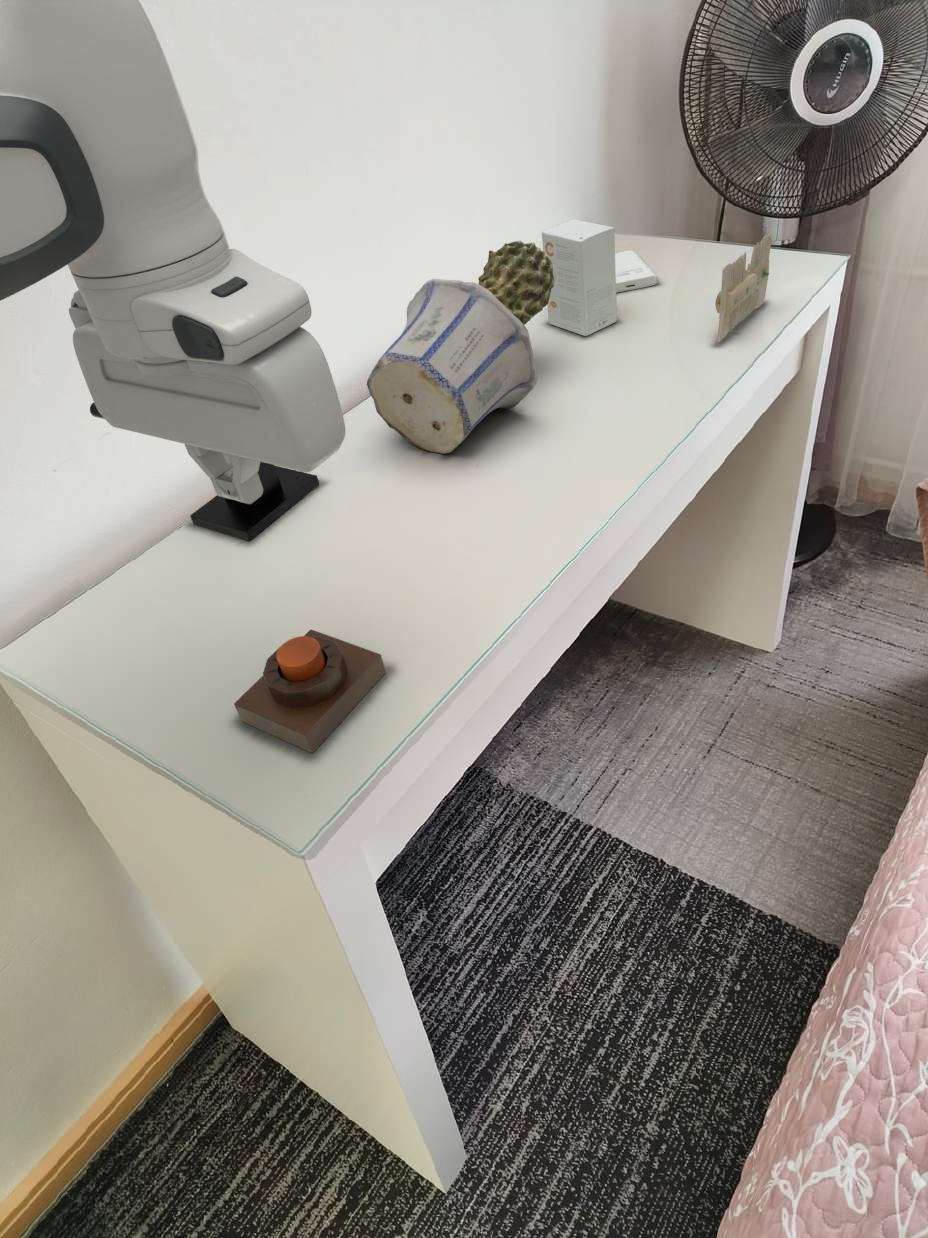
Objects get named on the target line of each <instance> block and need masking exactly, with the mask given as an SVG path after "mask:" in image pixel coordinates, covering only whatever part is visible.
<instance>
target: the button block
mask: <svg viewBox="0 0 928 1238" xmlns="http://www.w3.org/2000/svg"><path fill="white" fill-rule="evenodd" d="M303 636H308V637H312V638H314V639H316V640H317V641H318V642H319V644H320V647H321V650H322V653H323V656H324V659H325V665H324V667H323V669H322V671H321V672H320V673H319V674H318V675H316V676H315V677H312V678H310V679H308V680H306V681H300V682H295V681H290V680H288V679H286V678H285V677H284V675H283V673H282V671H281V668H280V666H279V663H278V661H277V657H276V655H277V651H278V649H279V648H280V647H281V646H282V645H281V646H279V647H278V648H276V650H275V651H274V652H272V654H271V655H270V656H269V657H268V658H267V659H266V662H265V665H264V669H263V672H262V676H261V677H260V678H259V679H258V680H257V681H256V682H255V683H254V684H253V685H251V686H250V688H249V689H247V690H246V691H245V692H244V693H243V694H242V695H241V696H240V697H239V698H238V699H237V700H236V701H235V702H234V703H233V705H234V707H235V710H236V712H237V714H238V715H239V718H240V720H241V722H242V723H244V724H247V725H249V726H251V727H254V728H255V729H257V730H260V731H262V732H264V733H266V734H269V735H271V736H273V737H276V738H278V739H279V740H282V741H284V742H285V743H286V742H287V743H289V744H291V745H293V746H295V747H298V748H299V749H302V750H304V751H307V752H308V753H311V754H314V753H315V752H316V751H317V750H318V749H319V747H320V746H321V745H322V744H323V743H324V742H325V741H326V740H327V738H328V737H329V736H330V735H331V734H332V733H333V732H334V731H335V730H336V729H337V728H338V726H339V725H340V724H341V723H342V722H343V721H344V720H345V719H346V718H347V716H348V715H349V714H351V712H352V711H353V710H354V709H355V708H356V706H357V705H359V703H360V702H361V701H362V700H363V699H364V698H365V697H366V696H367V694H368V693H369V692H370V691H371V690H372V689H373V688H374V686H375V685H376V684H377V683H379V681H380V680H381V679H382V678H383V677H384V675H385V674H386V673H387V671H386V667H385V664H384V661H383V657H382V654H380V653H378V652H376V651H372V650H370V649H368V648H364V647H361V646H359V645H356V644H354V643H350V642H347V641H344V640H342V639H339V638H336V637H333V636H332V635H331V636H330V635H328V634H325V633H322V632H320V631H316V630H315V629H309V630H308V631H307V632H306V633H305V634H304V635H303Z"/></svg>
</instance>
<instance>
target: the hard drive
mask: <svg viewBox="0 0 928 1238" xmlns="http://www.w3.org/2000/svg"><path fill="white" fill-rule="evenodd" d="M615 272H616V294H618V293H622V292H627V291H632V290H638V289H642V288H646V287H652V286H655V285H656V284H657V283H658V276H657V275H656V274H655V273H654V272H653V271H652V269H651V268H650V267H649V266H648V265H647V264H646V263H645V262H644V260H643V259H641V257H640V256H639V255H638V254H637V253H636V252H635V251H634V250H631V249H629V250H624V251H620V252H615Z"/></svg>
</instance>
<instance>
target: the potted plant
mask: <svg viewBox="0 0 928 1238" xmlns="http://www.w3.org/2000/svg"><path fill="white" fill-rule="evenodd" d="M482 270H483V273H482V274H481V275H479V276H478V278H477V280H478V283H477V282H474V281H463V280H457V279H443V278H442V279H441V278H430V279H428V280H426V282H425V283H424V284H423V285H422V286H421V287H420V289H419V290H417V292H416V293H415V294H414V296H413V298H412V299H411V300H410V301H409V302H408V304H407V307H406V324H405V326H404V329H403V330H402V333H401V334H400V335H399V337H397V339H396V340H395V341H394V342H393V343H392V344H391V345H390V346H389V348H387V350H385V352H384V353H383V355H382V356H381V357H380V358H379V359H378V361H377V363H376V364H375V365H374V367H373V369H372V370H371V372H370V374H369V376H368V378H367V380H366V386H367V389H368V392H369V396H370V397H371V398H372V399H373V403H374V407H375V410H376V413H377V414H378V415H379V417H380V418H382V420H383V421H384V422H385V423H386V425H387V426H388V428H390V429H392V430H394V431H395V432H396V433H397V434H399V435H400V436H401V437H402V438H404V439H405V440H407V441H409V442H410V443H411V444H412V445H414V446H416V447H418V448H419V449H421V450H422V451H425V452H432V453H437V454H444V455H445V454H451V452H453V451H454V450H455V449H456V448H457V447H459V445H461V444H462V443H463V441H464V440H465V439H466V438H467V437H468V436H469V435H470V433H471V432H472V431H473V430H474V429H475V427H477V425H479V424H480V422H481V421H482V420H483V419H485V417H487V416H488V415H489V414H490V413H492V412H493V411H495V410H497V409H502V410H511V409H513V408H514V407H516V406H517V405H518V404H520V402H521V401H523V399H525V397H527V395H528V394H530V392H532V390H533V389H534V388H535V386H536V385H537V382H538V372H537V369H536V364H535V359H534V350H533V346H532V342H531V338H530V333H529V330H528V328H527V327H526V326H525V325H526V324H527V323H528V322H530V321H531V320H532V319H533V318H534V317H535V316H536V315H537V314H539V313H540V312H542V311H543V309H544V308H545V307H546V306H547V304H548V302H549V298H550V293H551V289H552V288H553V287H554V283H555V280H554V277H553V264H552V262H551V261H550V259H549V258H548V256H547V254H546V253H545V252H543V249H541V247H537V246H536V243H535V242H533V241H532V242H527V243H524V242H523V241H521V240H516V241H511V242H509V243H504V245H502V247H501V248H499V249H498V250H496V251H493V250H491V249H490V250H488V257H487V262H486V264H485V265H484V266H483V268H482Z"/></svg>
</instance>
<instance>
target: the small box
mask: <svg viewBox="0 0 928 1238" xmlns="http://www.w3.org/2000/svg"><path fill="white" fill-rule="evenodd" d="M541 239H542V240H541V241H542V251H543V252H545V253H546V254H547V256H548V258H549V259H550V261H551V262H552V264H553V277H554V280H555V283H554V287H553V288H552V289H551V293H550V298H549V302H548V304H547V305H546V306H547V319H548V325H551V326H555V327H557V328H560V329H564V330H566V331H569V332H572V333H574V334H578V335H581V336H583V337H587V336H590V335H592V334H594V333H596V332H598V331H600V330H602V329H605V328H606V327H608V326H610V325H612V324H615V323H616V322H617V321H618V313H617V312H618V309H617V308H618V307H617V305H618V304H617V293H616V272H615V253H616V245H615V244H616V243H615V242H616V241H615V226H614V227H613V226H609V225H604V224H599V223H594V222H589V221H585V220H581V219H577V218H574V219H571V220H569V221H566V222H563V223H561V224H558V225H556V226H552V227H551V228H548V229H545V230H542V231H541Z"/></svg>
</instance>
